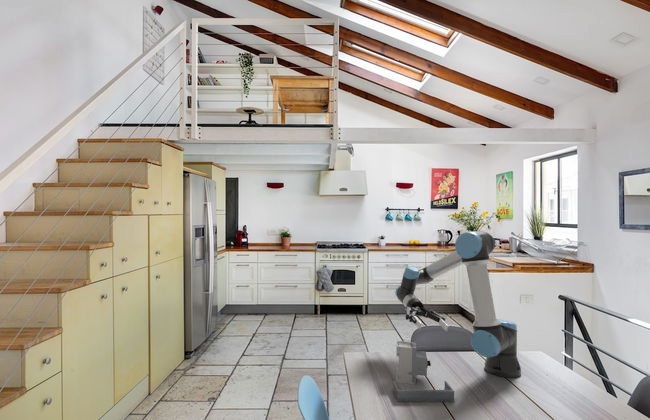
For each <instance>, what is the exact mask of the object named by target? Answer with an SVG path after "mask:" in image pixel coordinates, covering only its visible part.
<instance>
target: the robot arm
mask: <svg viewBox="0 0 650 420" xmlns="http://www.w3.org/2000/svg"><path fill="white" fill-rule="evenodd" d="M495 246H496V242H495V238H494V236H493V235H491V234H490V233H488V232H486V231H484V230H483V231H482V230H480V231H479V230H477V231H475V230H471V231H466V232H462V233H461V234H459V235H458V237H457V238H456V240H455V244H454V249H455V250H454V251H452V252H450V253H449V254H446V255H444V256H443V257H441V258H439V259H438V260H436V261H434V262H431V263H430V264H429V265H426V266H425V267H423V268H421V269H419V268H417V267H415V266H409V265H408V266H405V268H404V271H403V275H402V280H401V282H400V285H399V286H398V287H397V288H396V289H395V291H394V293H395V294H394V295H395V296H396V298H397V299H398V301H399V302H401V303H402V305H403V306H404V307H405V309H404V312H405V320H409V322H410V323H413V324H414V325H415V326H416V327H417V329H419V330H421V328H422V326H423V324H422V322H421V320H420V319H419V318H418V317H417V316H419V317H424V318H426V319H430V320H433V321H434V322H437V323H438V325H439V326H440V327H441V328H442V329H443V330H444V331H445V332H448V330H449V325H448V324H447V322H446V320H447V319H446V317H444V316H443V315H441V314H439V313H438V312H436V311H434V310H433V309H432V308H430V307H429V308H428V309H426V308H425V306H424V304H423V302H421V300H419V298H418V297H417V295H415V294H414V293H415V291H416V286H417V285H423V284H429V283H431V282H433V281H434V280H435V279H437V278H439V277H440V276H442V275H444V274H447V273H449V272H450V271H452V270H454V269H457V268H458V267H460V266H462V265H465V267H466V272H467V279H468V285H469V289H470V296H471V301H472V308H473V313H474V321H473V323H472V329H473V332H472V334H471V336H470V344H471V346H472V349H473V350H474V351H475V352H476V353H477V354H478V355H479V356H482V357H483V358H486V359H485V361H484V369H485V371H486V372H488V373H489V374H491V375H494V376H498V377H502V378H518V377H520V376H521V375H522V369H521V365H520V362H519V359H518V356H517V351H518V344H517V343H518V328H517V327H518V326H517V323H515V322H514V321H510V320H505V319H502V318H501V319H500V318H497V316H496V315H497V314H496V311H495V309H496V308H495V303H494V298H493V294H492V287H491V282H490V276H489V270H488V265H487V264H488V262H489V261H490V255H491V253H492V252H494V249H495Z"/></svg>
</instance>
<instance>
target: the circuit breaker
mask: <svg viewBox="0 0 650 420" xmlns="http://www.w3.org/2000/svg"><path fill="white" fill-rule="evenodd" d="M395 355H396V357H398V363H397V364H396V368H395V369H396V370H395V376H396V377H395V383H400V384H401V383H402V384H412V385H416V384H417V376H421V377H422V376H424V377H428V375H427V374H428V367H431V366H432V363H431V360H428V357H427V352H426V351H423V350H422V351H420V350H417V344H416V342H413V341H405V340H404V341H403V340H399V341H398V340H397V341H396V354H395Z"/></svg>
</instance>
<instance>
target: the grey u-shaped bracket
mask: <svg viewBox="0 0 650 420" xmlns="http://www.w3.org/2000/svg"><path fill="white" fill-rule="evenodd" d="M392 392H393V394H394V396H395V399H396V401H397V403H455V390H454V389H453V388H452V386H451V385H450V384H449V383H448V381H447V380H444V389H399V388H398V385H397V382H396V380H392Z"/></svg>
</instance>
